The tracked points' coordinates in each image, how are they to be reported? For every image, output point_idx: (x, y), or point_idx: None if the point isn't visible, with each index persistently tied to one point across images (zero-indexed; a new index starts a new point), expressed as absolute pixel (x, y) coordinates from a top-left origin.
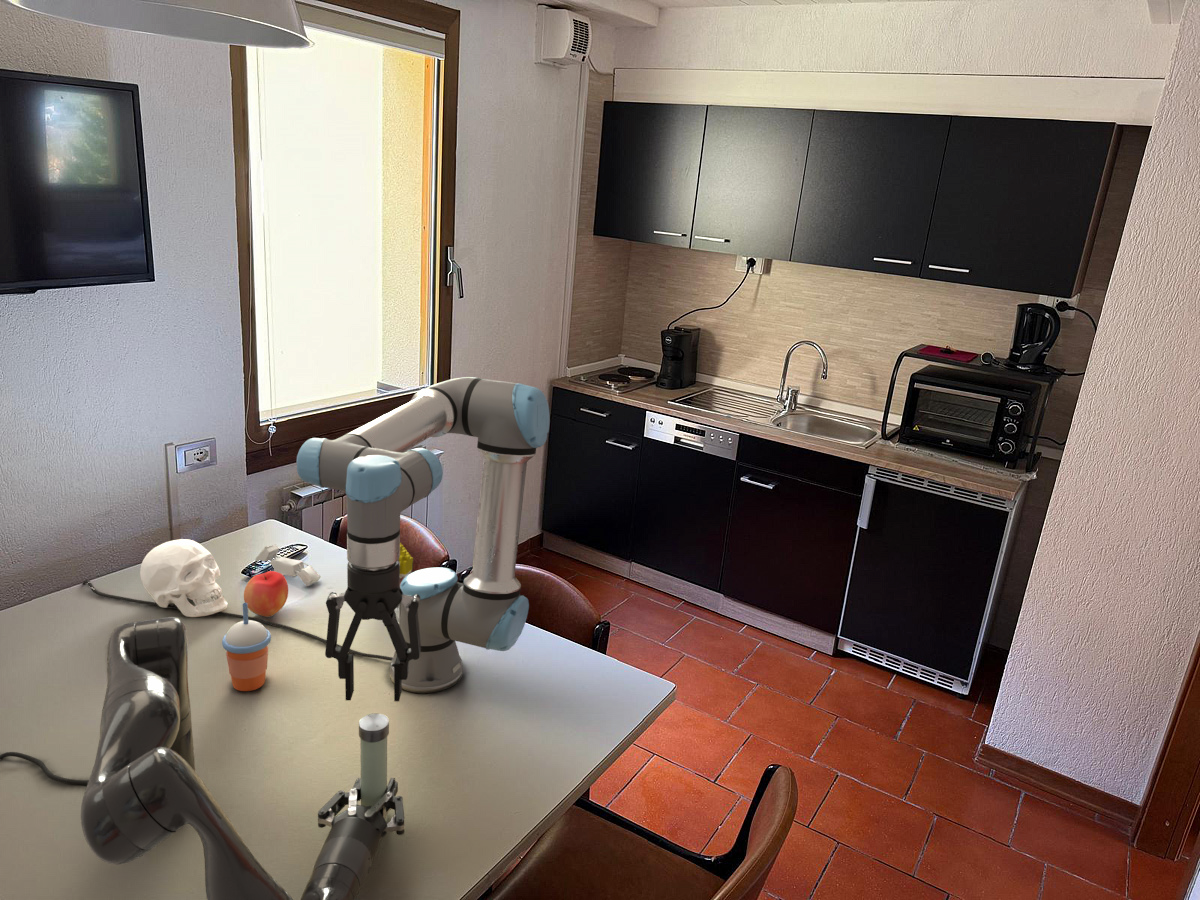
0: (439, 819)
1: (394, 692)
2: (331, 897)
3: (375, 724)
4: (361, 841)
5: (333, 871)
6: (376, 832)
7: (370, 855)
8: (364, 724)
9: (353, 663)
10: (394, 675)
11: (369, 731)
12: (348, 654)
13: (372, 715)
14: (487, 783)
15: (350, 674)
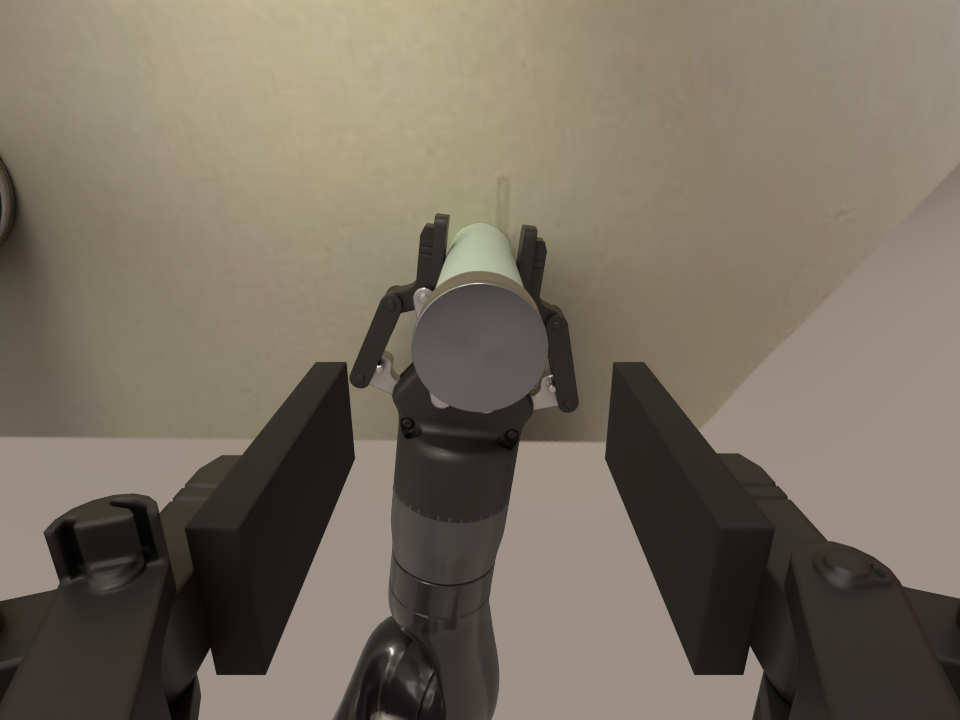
0: (640, 240)
1: (620, 491)
2: (456, 662)
3: (490, 368)
4: (487, 515)
5: (444, 604)
6: (514, 453)
7: (508, 502)
8: (440, 369)
9: (280, 468)
10: (657, 583)
11: (471, 411)
12: (189, 541)
13: (464, 302)
14: (781, 89)
15: (303, 577)
